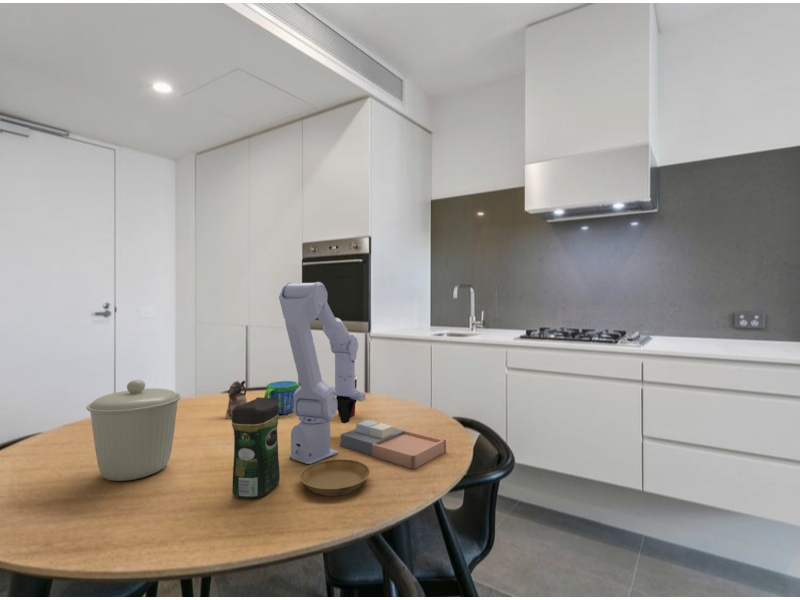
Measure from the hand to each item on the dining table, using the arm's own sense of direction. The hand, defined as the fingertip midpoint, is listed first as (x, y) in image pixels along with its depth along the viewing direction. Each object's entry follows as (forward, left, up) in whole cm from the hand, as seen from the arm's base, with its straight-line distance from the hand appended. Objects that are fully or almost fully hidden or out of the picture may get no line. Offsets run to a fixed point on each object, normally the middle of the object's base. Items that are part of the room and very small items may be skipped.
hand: (345, 422), depth 117 cm
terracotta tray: (0, -24, -4) cm, 24 cm away
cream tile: (0, -14, -1) cm, 14 cm away
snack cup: (+4, +36, -4) cm, 36 cm away
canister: (-47, +20, -4) cm, 51 cm away
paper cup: (+15, +15, -4) cm, 22 cm away
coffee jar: (-35, -10, -4) cm, 37 cm away
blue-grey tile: (0, -9, -1) cm, 9 cm away
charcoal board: (0, -11, -4) cm, 12 cm away
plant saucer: (-23, -21, -4) cm, 32 cm away
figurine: (-8, +45, -4) cm, 46 cm away
